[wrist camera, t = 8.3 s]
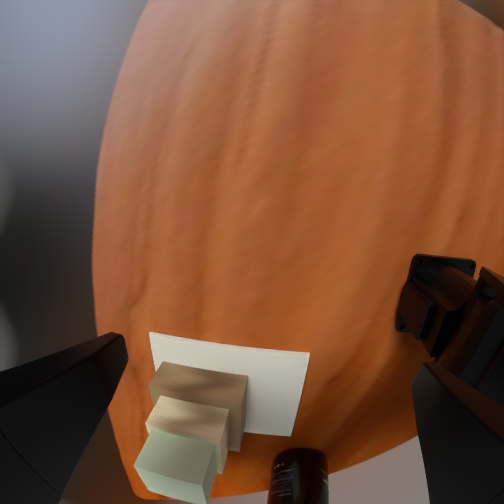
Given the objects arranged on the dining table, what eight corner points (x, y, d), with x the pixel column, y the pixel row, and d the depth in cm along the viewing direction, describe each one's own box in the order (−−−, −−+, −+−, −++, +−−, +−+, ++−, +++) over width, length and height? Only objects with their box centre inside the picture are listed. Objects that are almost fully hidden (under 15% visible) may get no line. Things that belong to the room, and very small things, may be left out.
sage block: (214, 443, 17) (202, 485, 13) (216, 470, 19) (207, 506, 15) (152, 428, 18) (133, 465, 14) (162, 457, 19) (148, 490, 15)
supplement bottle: (338, 456, 26) (342, 536, 15) (300, 474, 28) (296, 546, 17) (298, 440, 26) (294, 531, 14) (261, 460, 28) (248, 539, 17)
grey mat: (309, 352, 22) (309, 354, 22) (290, 434, 26) (290, 436, 25) (150, 331, 23) (149, 333, 23) (167, 415, 27) (166, 416, 27)
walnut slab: (247, 375, 23) (241, 403, 20) (244, 426, 25) (239, 452, 22) (162, 361, 24) (148, 384, 21) (173, 413, 26) (162, 436, 23)
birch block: (229, 409, 20) (220, 441, 17) (229, 445, 22) (222, 474, 19) (160, 395, 21) (145, 423, 17) (170, 433, 23) (158, 459, 19)
